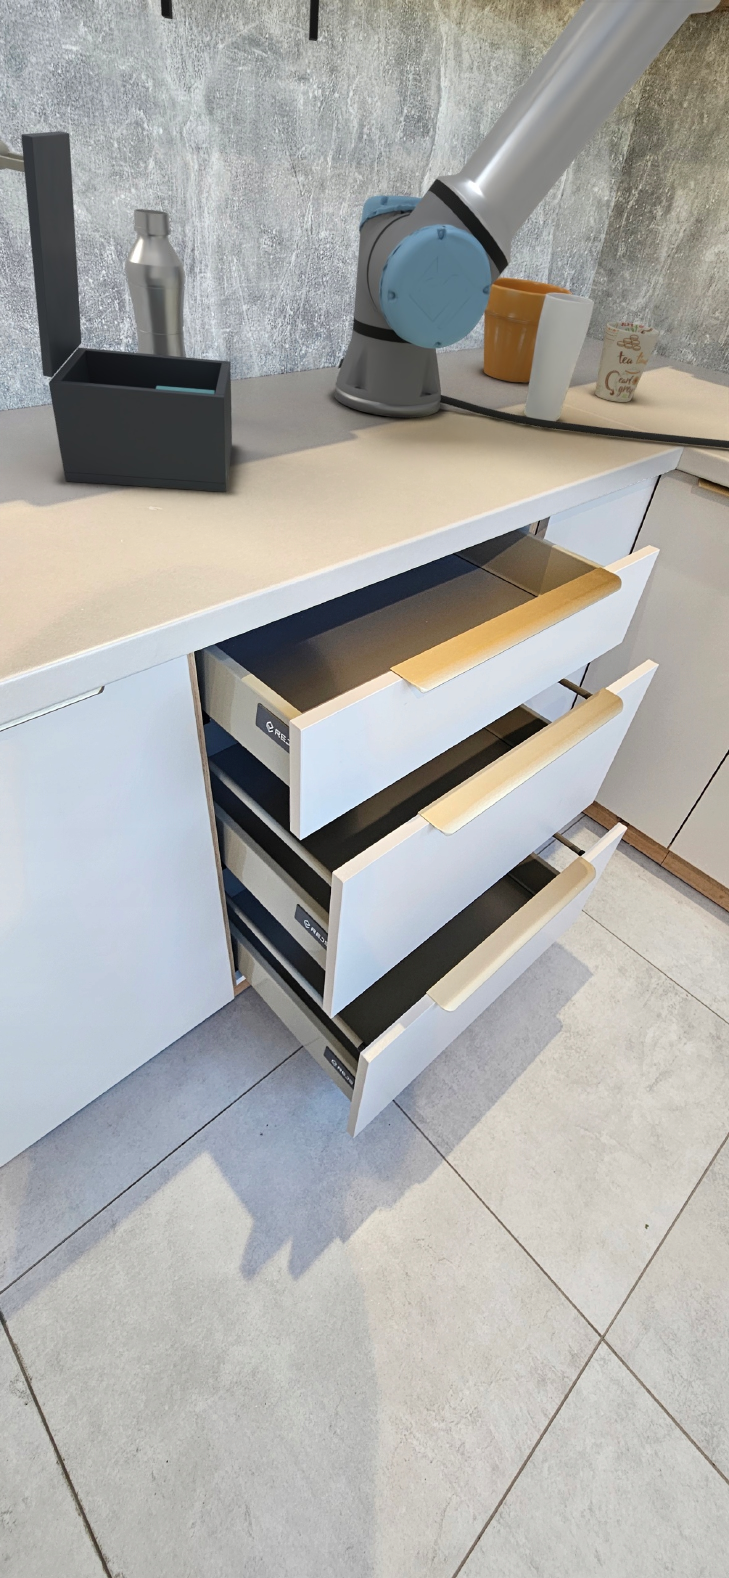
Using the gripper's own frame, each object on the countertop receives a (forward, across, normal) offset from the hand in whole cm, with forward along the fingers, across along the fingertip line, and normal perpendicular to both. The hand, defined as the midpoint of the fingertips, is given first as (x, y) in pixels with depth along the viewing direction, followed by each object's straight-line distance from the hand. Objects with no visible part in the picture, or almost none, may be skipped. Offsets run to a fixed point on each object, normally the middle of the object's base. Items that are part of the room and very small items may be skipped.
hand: (241, 29), depth 69 cm
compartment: (+35, +9, +16) cm, 39 cm away
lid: (+17, +16, +16) cm, 28 cm away
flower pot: (+35, -44, -38) cm, 68 cm away
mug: (+35, -61, -32) cm, 77 cm away
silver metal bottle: (+35, +10, -2) cm, 36 cm away
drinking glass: (+35, -43, -14) cm, 57 cm away
